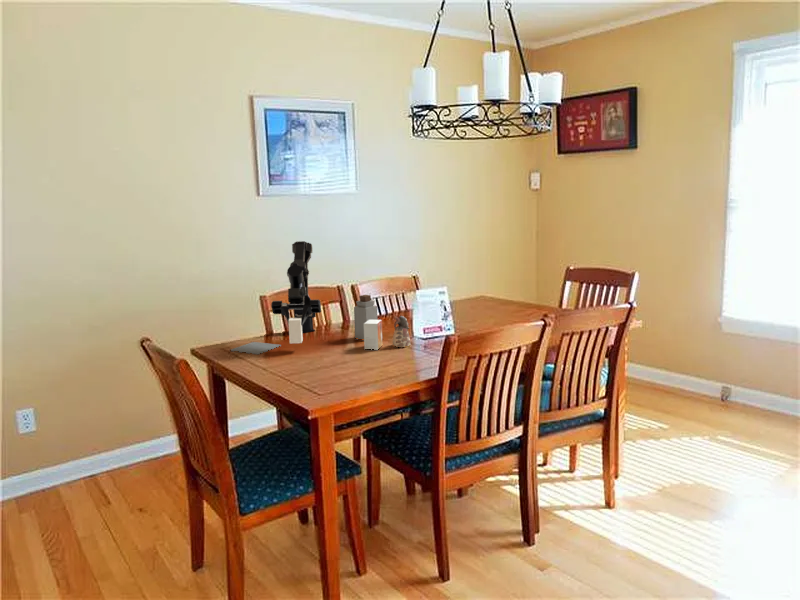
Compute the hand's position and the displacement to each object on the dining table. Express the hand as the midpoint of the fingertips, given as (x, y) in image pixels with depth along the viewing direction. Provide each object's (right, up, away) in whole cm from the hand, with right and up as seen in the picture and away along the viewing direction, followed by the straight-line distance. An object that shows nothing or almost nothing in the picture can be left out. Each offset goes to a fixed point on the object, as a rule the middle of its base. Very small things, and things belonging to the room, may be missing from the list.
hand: (295, 325), depth 243 cm
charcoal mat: (-17, -10, +7) cm, 21 cm away
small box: (+30, -9, +4) cm, 31 cm away
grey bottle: (+26, -7, +20) cm, 34 cm away
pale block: (0, -7, +1) cm, 7 cm away
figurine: (+41, -9, +6) cm, 42 cm away
